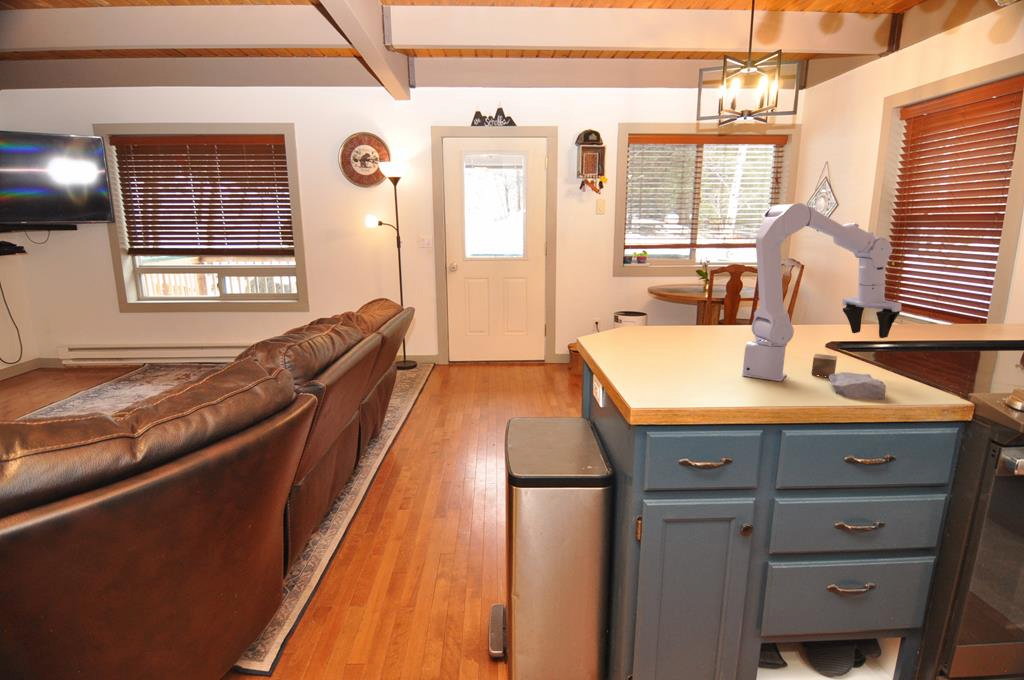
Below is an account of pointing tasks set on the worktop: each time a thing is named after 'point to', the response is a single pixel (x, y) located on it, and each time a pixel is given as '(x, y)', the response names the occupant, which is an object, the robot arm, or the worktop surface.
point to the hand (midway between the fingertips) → (869, 334)
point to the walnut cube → (824, 365)
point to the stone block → (858, 385)
